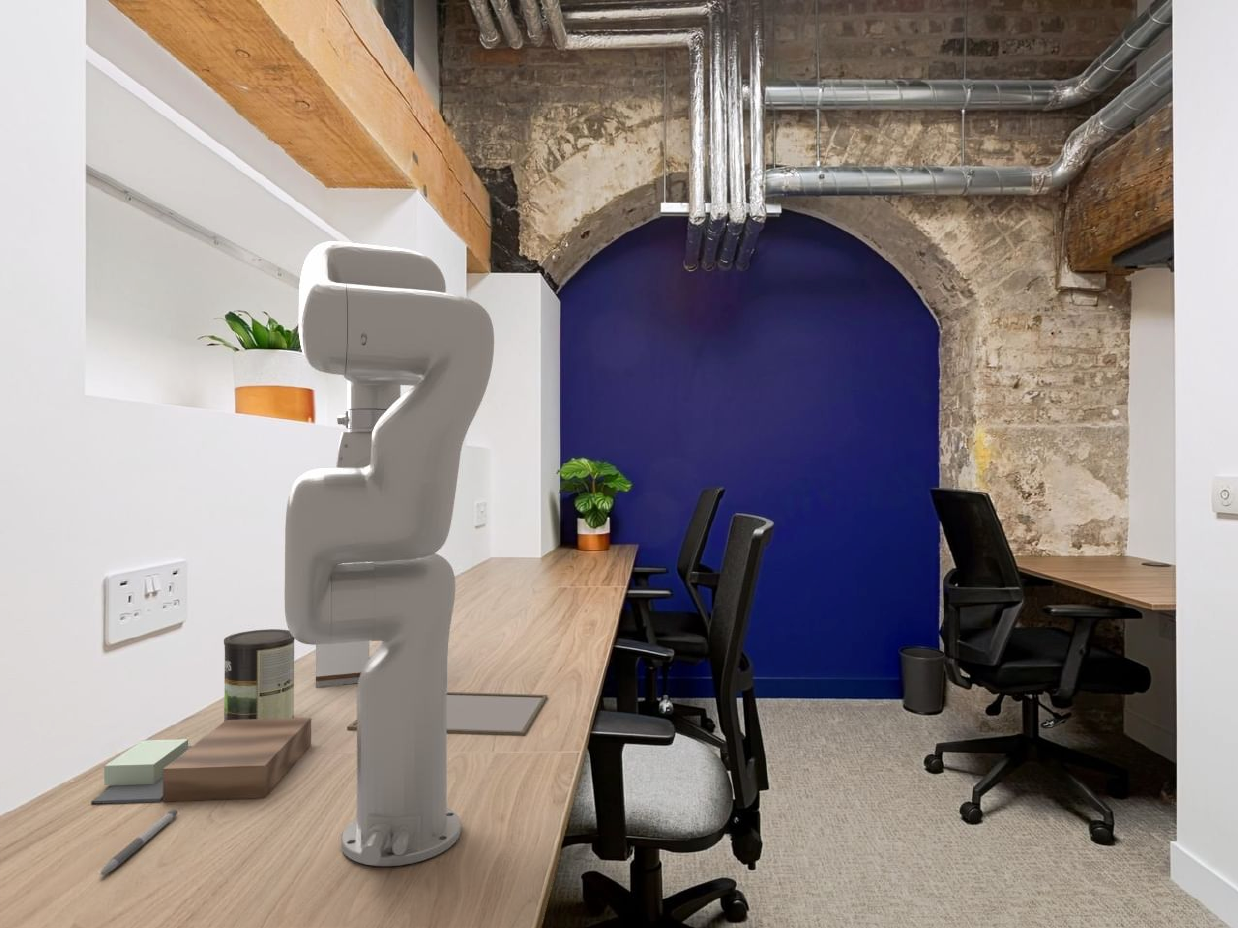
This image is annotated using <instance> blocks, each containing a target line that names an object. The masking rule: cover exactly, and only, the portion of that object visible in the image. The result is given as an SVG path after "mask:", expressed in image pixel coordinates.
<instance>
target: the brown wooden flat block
mask: <svg viewBox="0 0 1238 928" xmlns="http://www.w3.org/2000/svg"><path fill="white" fill-rule="evenodd" d="M191 746H192V747H191V748H189V749H188V750H187V751H186V752H184V753H183V754H182V755H180V756H179V757H178V758H176V759H175V760H174V761H173V762H171V763H170V764H169V765H167V766H166V767H165V768H163V800H162V803H163V802H189V801H191V802H192V801H214V800H217V801H219V800H220V801H221V800H238V799H239V800H241V799H242V800H244V799H265V798H266V797H267V796H268V795H269V794H270V793H271V791H273V789H274V788H275V787H276V785H278V784H279V783H280V781H281V780H282V779H283V777H284V776H286V774H287V773H288V772H289V771H290V770H291V769H292V768H293V766H294V765H295V764H296V763H297V762H298V761H299V760H300V758H302V756H303V755H304V754H305V753H306V752H307V751H308V749H309V748H310V747H311V746H312V717H294V718H282V719H246V720H226V721H225V722H224V721H223V722H222V723H221V724H220V725H217V727H215V728H214V729H213V730H211V731H210V732H209V733H207V735H205V736H204V737H202V738H201V739H200V740H198V741H197V742H196V743H195V744H194V745H191Z"/></svg>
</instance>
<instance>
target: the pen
mask: <svg viewBox="0 0 1238 928" xmlns="http://www.w3.org/2000/svg"><path fill="white" fill-rule="evenodd" d="M177 814H178V809H171V810H169V811H168V812H167V813H165V815H164V814H163V816H162V817H160V818H159V819H158V820H157V821H156V822H154V824H152V825H151V826H150V827H149V828H148V829H146V830H145V831H144V832H143V833H141V834H140V835H138V837H136V838H135V839H134V840H133V841H132V842H130V843H129V844H128V845H127V846H125V847H124V848H123V849H122V850H120V851H119V852H118V853H117V854H115V855H114V856H113V857H112V858H111V859H110V860H109V861H108V862H107V863H106V864H105V865H104V866H103V867H102V869H101V870H100V875H102V876H103V875H106V874H109V873H111V872H112V871H114V870H115V869H116V868H118V867H119V866H120V865H122V864H123V863H124V862H125V861H126V860H127V859H128V858H129V857H131V856H132V855H133V854H134V853H135V852H137V851H138V850H139V849H140V848H141V847H142V846H143V845H145V843H147V841H149V840H150V839H152V838H153V837H154V835H156V834H157V833H158V832H159V831H160V830H162V829H163V827H165V826H166V825H167V824H171V823H173V821H174V819H175V817H176V816H177Z"/></svg>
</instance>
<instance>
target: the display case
mask: <svg viewBox="0 0 1238 928" xmlns="http://www.w3.org/2000/svg"><path fill="white" fill-rule="evenodd" d="M370 658H371V656H370V641H360V642H348V643H336V644H323V645H315V688H316V687H318V688H324V687H323V686H328V687H335V686H334V685H338V686H344V685H343V684H348V685H354V684H353V683H358V680H359V677H360V674H361V672H362V670H363V668H364V666H365V665H366V663H367V662H368V660H369V659H370Z"/></svg>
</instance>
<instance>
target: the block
mask: <svg viewBox="0 0 1238 928" xmlns="http://www.w3.org/2000/svg"><path fill="white" fill-rule="evenodd" d="M188 746H189V739H186V738H185V739H149V740H148V739H146V740H145V739H144V740H142V741H140V742H138V743H137V744H135V745H133V747H131V748H129V749H128V750H126V751H125V752H123V753H122V754H119V756H117V757H116V758H114V759H113V760H111V761H109V762H108V763H107V764H105V765H104V767H103V768H104V772H103V773H104V774H103V775H104V778H103V779H104V780H103V785H104V786H113V785H135V784H154V783H155V782H157V781H158V780H159V779H161V778H162V777H163V768H165V767H166V766H167V765H169V764H170V763H171V762H173V761H174V760H175V759H176V758H178V757H179V756H180V755H182V754H183V753H184V752H186V751H187V750H188Z"/></svg>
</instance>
